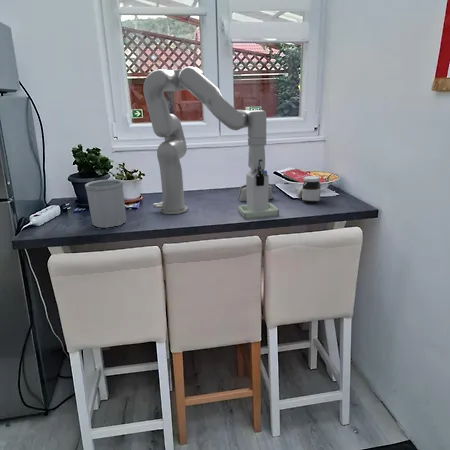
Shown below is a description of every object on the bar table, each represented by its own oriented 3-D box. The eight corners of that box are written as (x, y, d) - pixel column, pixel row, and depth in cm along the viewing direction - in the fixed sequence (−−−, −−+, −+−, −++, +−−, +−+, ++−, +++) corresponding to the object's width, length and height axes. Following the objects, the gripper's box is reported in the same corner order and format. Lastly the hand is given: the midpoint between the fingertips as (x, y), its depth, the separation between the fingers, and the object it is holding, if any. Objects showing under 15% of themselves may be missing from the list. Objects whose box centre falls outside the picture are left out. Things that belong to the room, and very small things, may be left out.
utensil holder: (89, 221, 168) (83, 181, 163) (124, 216, 174) (119, 177, 168) (93, 231, 155) (86, 188, 150) (130, 225, 161) (125, 183, 155)
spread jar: (316, 205, 179) (317, 180, 175) (292, 203, 183) (293, 178, 180) (322, 198, 189) (323, 174, 185) (299, 196, 194) (300, 173, 190)
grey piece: (269, 196, 197) (271, 179, 191) (272, 201, 193) (274, 184, 187) (237, 198, 194) (238, 181, 188) (239, 204, 190) (240, 187, 184)
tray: (244, 219, 163) (244, 213, 162) (238, 211, 174) (237, 205, 174) (279, 215, 166) (279, 210, 165) (270, 208, 177) (270, 202, 176)
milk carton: (261, 206, 174) (261, 163, 168) (268, 210, 168) (268, 166, 161) (246, 208, 172) (246, 165, 165) (253, 212, 165) (253, 168, 159)
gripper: (243, 139, 167) (243, 179, 173) (253, 144, 151) (254, 188, 157) (260, 138, 169) (260, 178, 175) (272, 143, 153) (272, 187, 158)
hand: (257, 183), depth 166 cm, fingers closed on milk carton, 7 cm apart
